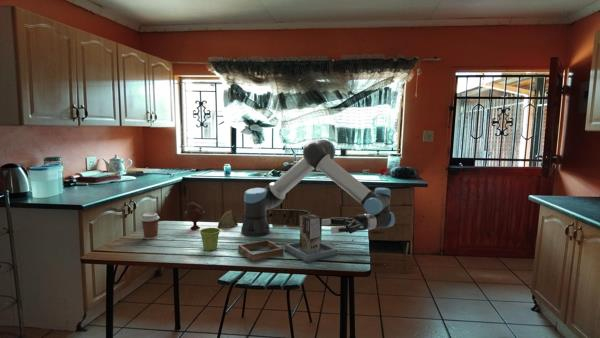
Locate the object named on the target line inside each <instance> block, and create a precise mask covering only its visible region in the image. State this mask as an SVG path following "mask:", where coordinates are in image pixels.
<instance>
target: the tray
mask: <svg viewBox="0 0 600 338" xmlns="http://www.w3.org/2000/svg"><path fill="white" fill-rule="evenodd" d="M284 251H285V252H287V253H288V254H291V255H292V256H293V257H296V258H297V259H299V260H301V261H303V262H304V263H305V264H308V263H309V264H310V263H312V262H317V261H322V260H325V259H330V258H333V257H337V256H338V249H337V248H335V247H334V246H331V245H329V244H327V243H324V242H322V241H321V252H318V253H313V254H308V253H306V252H304V251H302V250H300V240H299V241H296V242H291V243H285V244H284Z"/></svg>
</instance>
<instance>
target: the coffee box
mask: <svg viewBox="0 0 600 338" xmlns="http://www.w3.org/2000/svg"><path fill="white" fill-rule="evenodd" d="M322 218H323V217H322V216H320V215H316V214H313V213H305V214H301V215H300V214H299V241H300V250H302V251H304V252H306V253H308V254H313V253H318V252H321V242H322V232H323V231H322V228H323V225H322Z"/></svg>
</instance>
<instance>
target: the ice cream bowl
mask: <svg viewBox="0 0 600 338" xmlns="http://www.w3.org/2000/svg"><path fill="white" fill-rule="evenodd" d="M185 208H186V211H184V213H183V215H184V216H185V218H186V219H187V220H188V221H190V222H192V223H193V225H192V226H191V227H190V228H189V230H191V231H197V230H196V229H198V230H201V226H198V224H197V222H199V221H201V220H202V219H203V217H204V216H205V213H206V211H205V210H203V206H201V205H200V204H197V203H196V202H191V201H190V202H189V203H187V204H186V207H185Z"/></svg>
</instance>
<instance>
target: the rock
mask: <svg viewBox="0 0 600 338" xmlns="http://www.w3.org/2000/svg"><path fill="white" fill-rule="evenodd" d="M218 220H219V221H218V224H217V228H234V227H238V225H239V224H238V221H237V218H236V215H235V212H234V210H232V209H229V210H227V211H225V212H224V213H223V215H222V216H221V218H220V219H218Z"/></svg>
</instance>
